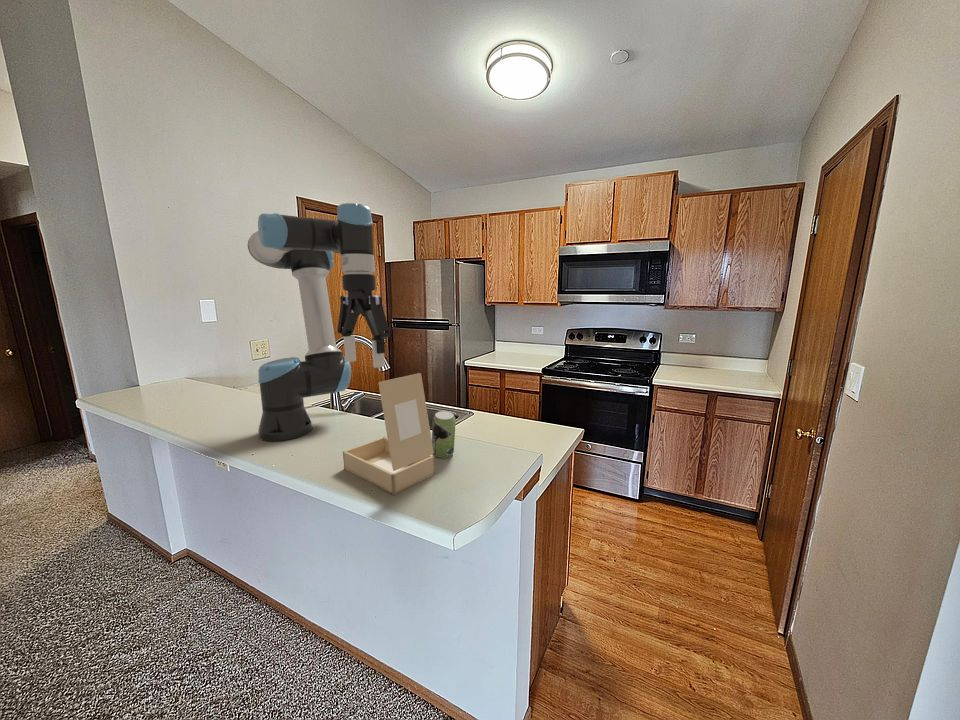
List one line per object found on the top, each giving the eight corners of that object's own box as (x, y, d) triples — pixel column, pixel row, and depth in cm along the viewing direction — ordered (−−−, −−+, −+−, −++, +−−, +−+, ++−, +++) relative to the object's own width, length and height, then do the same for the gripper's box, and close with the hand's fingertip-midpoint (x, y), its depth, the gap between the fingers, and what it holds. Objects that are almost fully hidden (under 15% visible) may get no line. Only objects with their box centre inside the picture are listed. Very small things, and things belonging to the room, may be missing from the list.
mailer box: (344, 468, 94) (342, 451, 93) (385, 452, 104) (384, 436, 103) (393, 495, 82) (392, 475, 81) (435, 474, 91) (434, 456, 90)
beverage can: (444, 448, 106) (443, 407, 104) (461, 455, 101) (460, 412, 99) (426, 455, 102) (424, 412, 100) (443, 463, 97) (442, 418, 95)
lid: (378, 382, 80) (379, 382, 80) (419, 373, 89) (421, 372, 88) (392, 470, 81) (394, 471, 81) (432, 453, 90) (434, 453, 90)
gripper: (318, 275, 94) (325, 361, 98) (375, 271, 79) (380, 372, 83) (345, 276, 100) (351, 357, 104) (403, 272, 85) (407, 367, 89)
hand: (364, 364), depth 93 cm, fingers open, 11 cm apart
